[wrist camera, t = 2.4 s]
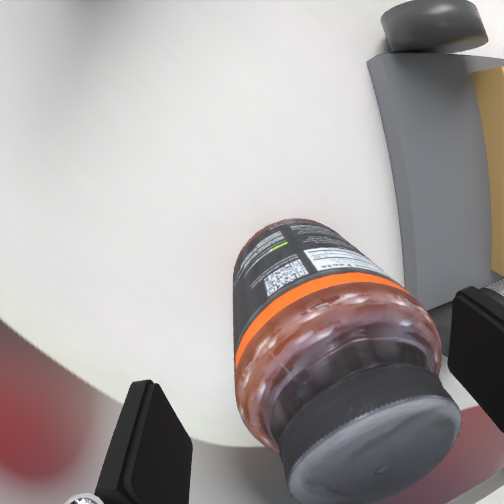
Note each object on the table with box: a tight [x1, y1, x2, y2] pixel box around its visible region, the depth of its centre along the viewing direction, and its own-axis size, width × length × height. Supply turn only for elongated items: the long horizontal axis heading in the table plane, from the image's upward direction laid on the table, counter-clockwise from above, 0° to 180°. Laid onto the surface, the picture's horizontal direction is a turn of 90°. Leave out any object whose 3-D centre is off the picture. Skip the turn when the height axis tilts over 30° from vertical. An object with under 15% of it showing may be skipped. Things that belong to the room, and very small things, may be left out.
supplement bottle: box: [233, 219, 462, 504], centre depth 10 cm, size 6×6×11 cm
